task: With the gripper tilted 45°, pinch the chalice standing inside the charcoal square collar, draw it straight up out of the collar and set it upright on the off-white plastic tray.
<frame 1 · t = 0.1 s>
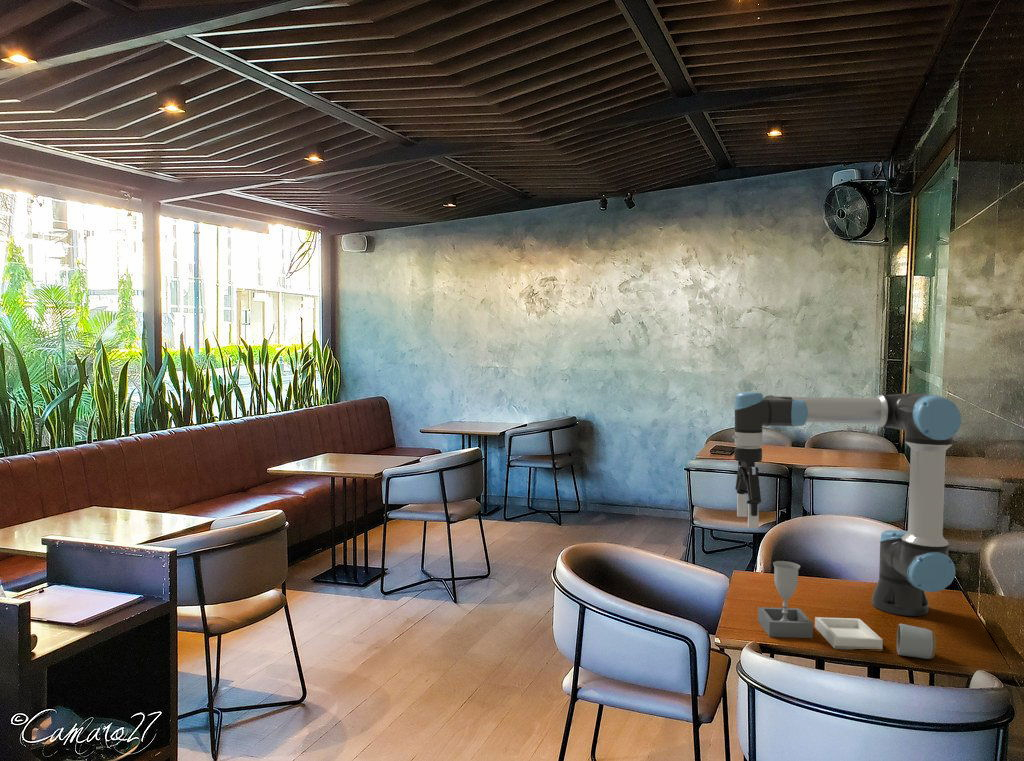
hand: (747, 521, 215), 28 cm above the table, tool pointing down, fingers open, 13 cm apart
charcoal collar: (784, 629, 209), on the table
chalice: (784, 630, 209), resting in charcoal collar
ceramic mug: (913, 654, 193), on the table
off-white tray: (847, 638, 203), on the table
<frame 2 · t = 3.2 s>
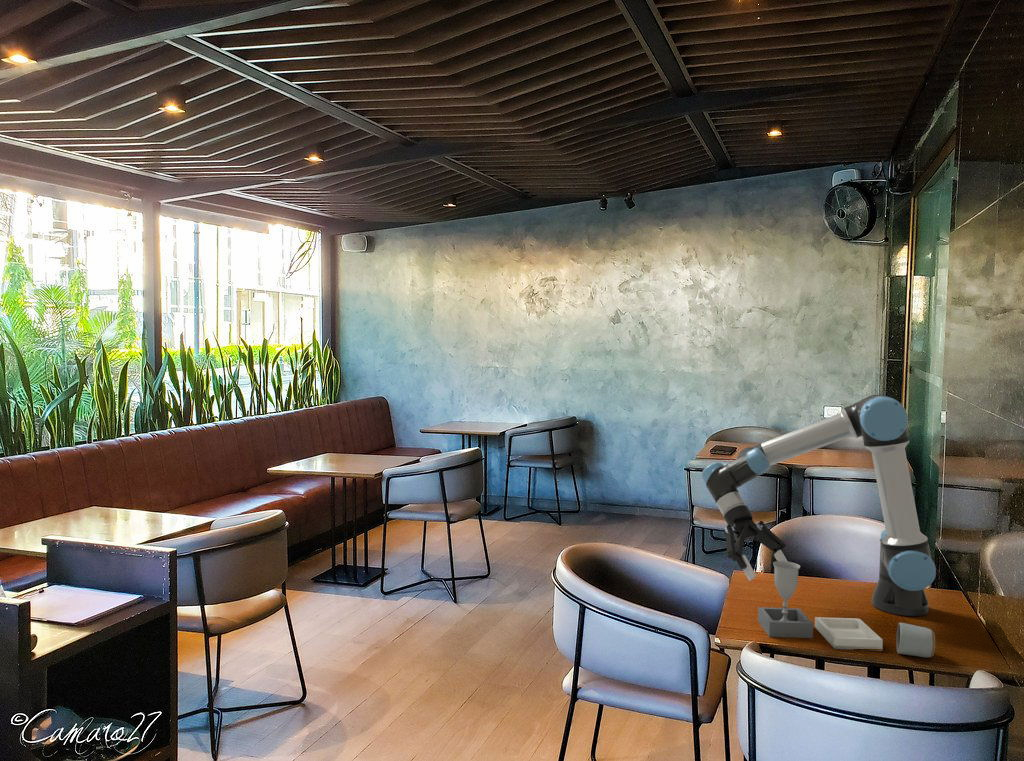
hand: (771, 575, 212), 14 cm above the table, tool tilted 45°, fingers open, 13 cm apart
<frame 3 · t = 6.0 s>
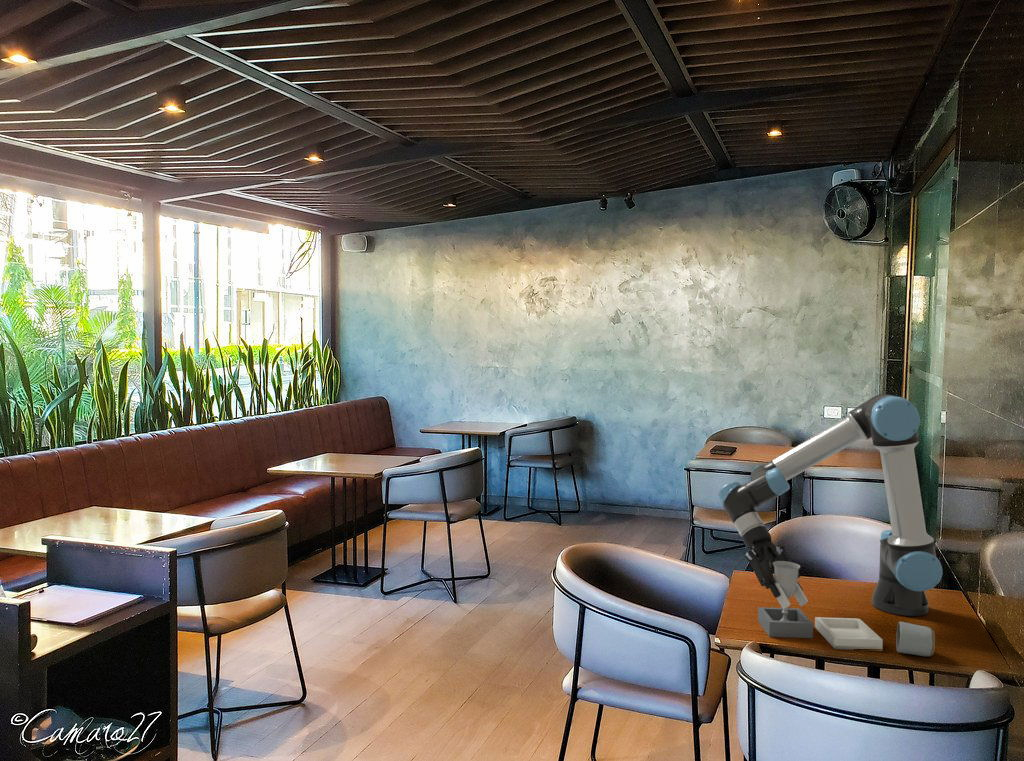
hand: (795, 605, 205), 8 cm above the table, tool tilted 45°, fingers closed on chalice, 6 cm apart
chalice: (784, 630, 209), resting in charcoal collar, touching gripper
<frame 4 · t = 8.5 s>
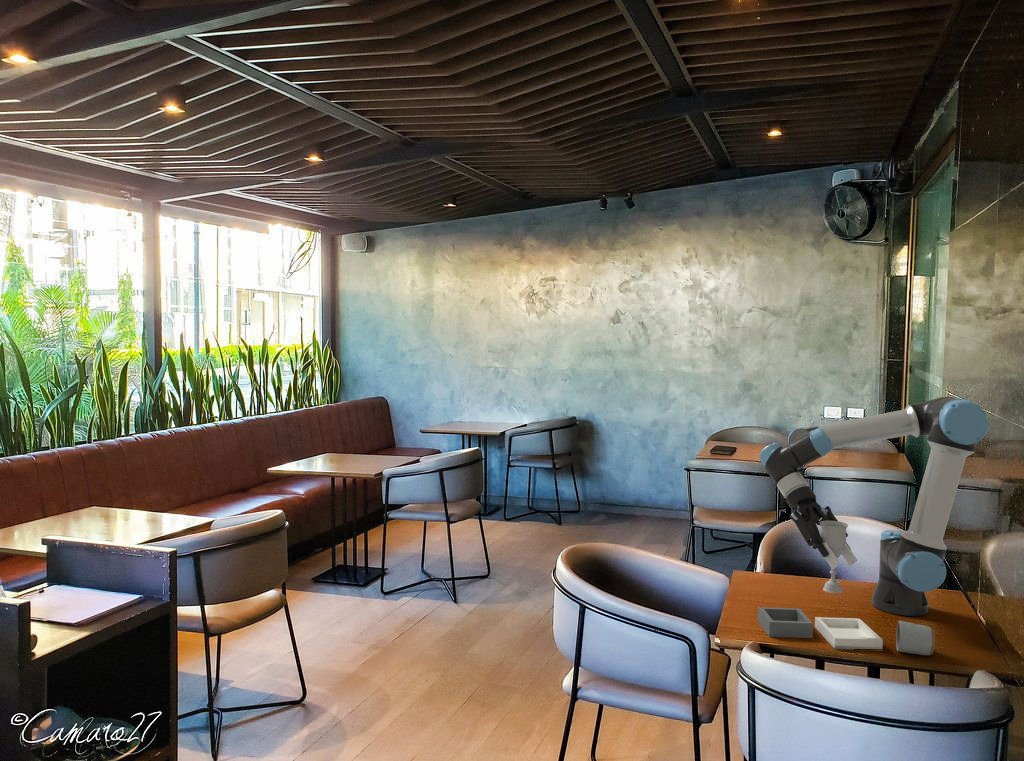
hand: (844, 564, 200), 20 cm above the table, tool tilted 45°, fingers closed on chalice, 6 cm apart
chalice: (832, 590, 204), point 12 cm above the table, touching gripper
when the fingers open (10 cm above the table, at t = 11.4 s): chalice drops 2 cm, resting on off-white tray.
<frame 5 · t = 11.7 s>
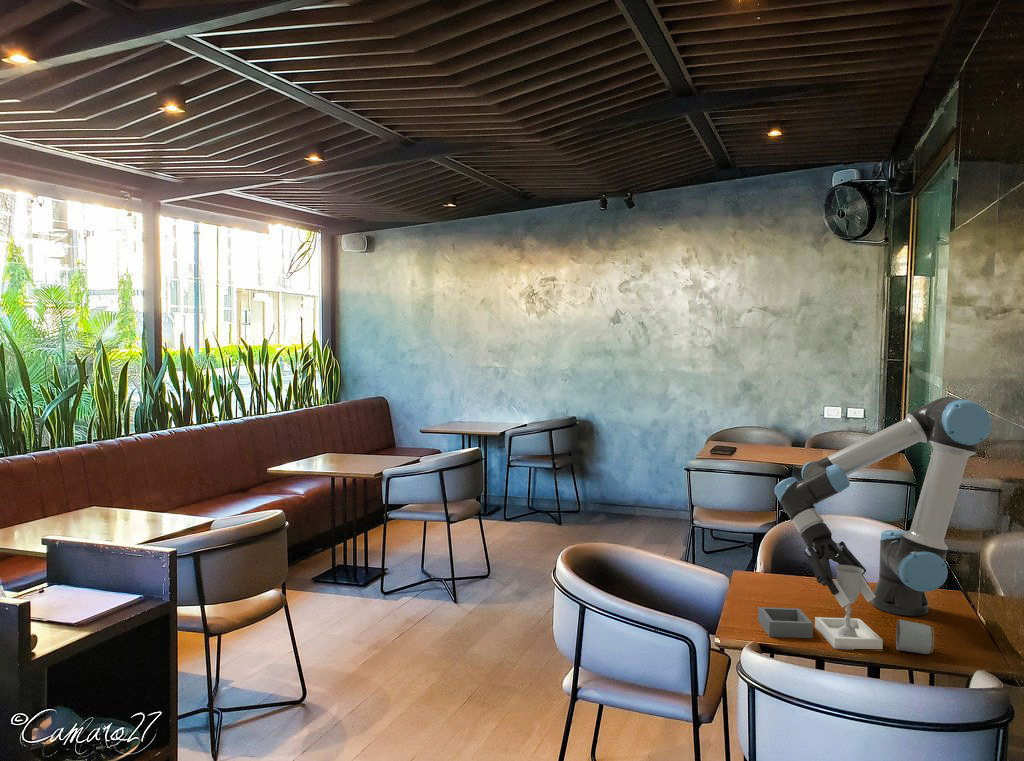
hand: (858, 602, 200), 11 cm above the table, tool tilted 45°, fingers open, 9 cm apart
chalice: (847, 635, 203), point 1 cm above the table, touching off-white tray
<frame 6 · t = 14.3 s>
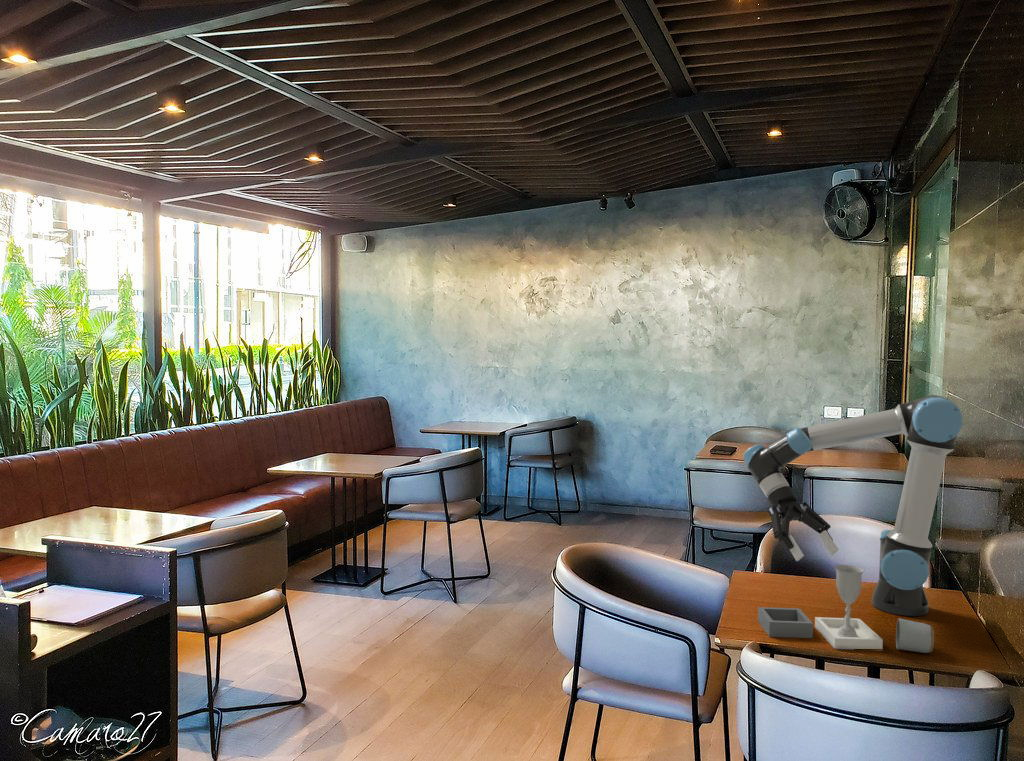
hand: (817, 555, 211), 20 cm above the table, tool tilted 45°, fingers open, 13 cm apart
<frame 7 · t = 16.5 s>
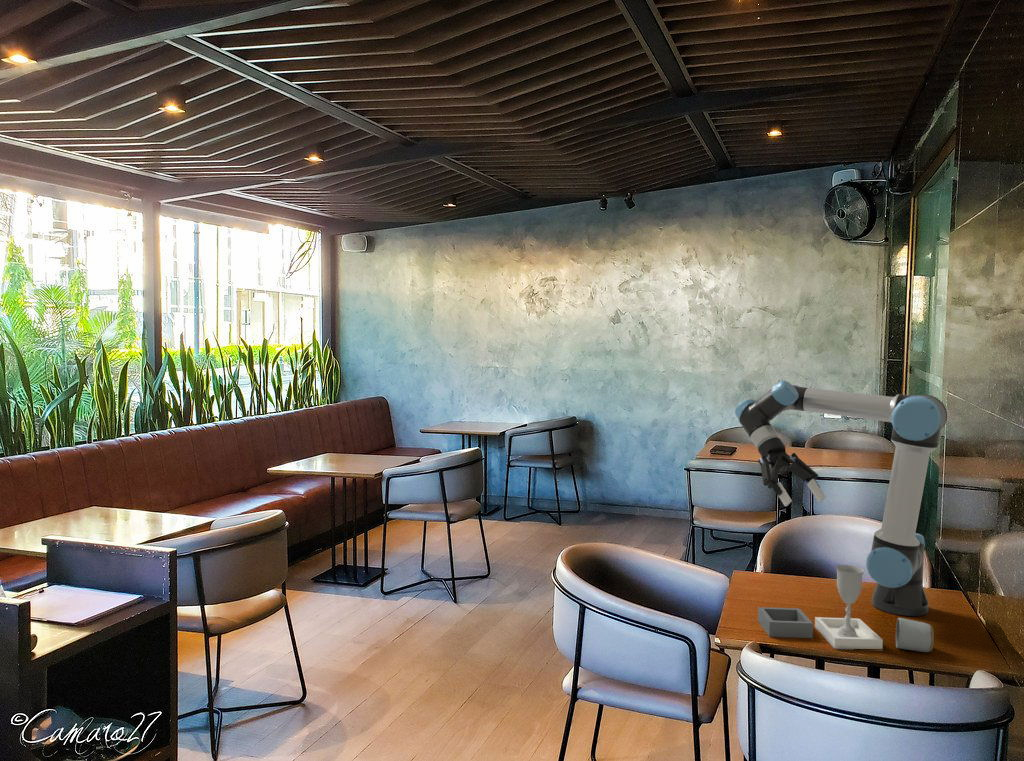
hand: (805, 501, 221), 33 cm above the table, tool tilted 45°, fingers open, 13 cm apart
at the end: chalice inside the target area on the off-white tray (0.1 cm from its centre), point 0.6 cm above the off-white tray's base; chalice tilted 0°; the gripper is holding nothing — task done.
